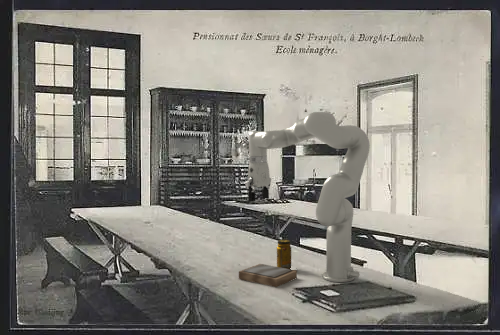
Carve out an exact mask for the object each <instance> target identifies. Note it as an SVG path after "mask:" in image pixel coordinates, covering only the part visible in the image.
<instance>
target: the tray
mask: <svg viewBox="0 0 500 335" xmlns="http://www.w3.org/2000/svg"><path fill="white" fill-rule="evenodd" d="M297 271H298V270H291V269H285V268H280V267H277V266H276V267H275V265H269V264H264V263H258V264H256V265H252V266H251V267H248V268H245V269H242V270H239V271H238V279H239V280H241V281H247V282H250V283H255V284H259V285H265V286H269V287H273V288H274V287H275V288H278V287H280V286H282V285H285V284H287V283H290V282H292V281H294V280H296V279H298V278H297V277H298V272H297ZM295 278H296V279H295ZM293 279H294V280H293ZM291 280H292V281H291ZM289 281H290V282H289Z"/></svg>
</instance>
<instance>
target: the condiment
mask: <svg viewBox="0 0 500 335" xmlns="http://www.w3.org/2000/svg"><path fill="white" fill-rule="evenodd" d="M274 266H275V265H274ZM291 266H292V247H291V240H290V239H279V240H277V247H276V266H275V267H280V268H285V269H290V268H291Z"/></svg>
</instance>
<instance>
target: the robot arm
mask: <svg viewBox="0 0 500 335" xmlns="http://www.w3.org/2000/svg"><path fill="white" fill-rule="evenodd" d="M313 138H315V139H317V140H319V141H321V142H322V143H324V144H325V145H328V146H329V147H330V148H333V149H336V150H341V149H347V151H346V153H345V155H344V157H343V159H342V161H341V165H340V168H339V171H338V172H337V173H334V174H331V175H330V176H328V177H327V178H326V180H324V182H323V184H322V188H321V191H320V194H319V199H318V201H317V204H316V209H315V216H316V219H317V222H318V223H319V224H320V225H322V226H324V227H327V228H326V239H325V240H326V244H325V246H326V252H325V253H326V258H325V259H326V262H325V263H326V265H325V266H326V267H325V268H326V270H325V272H322V278H323V279H324V280H326V281H329V282H333V283H346V282H352V281H354V280H355V279H356V278H357V279H358V278H360V271H357V270H354V267H353V266H352V226H353V219H354V207H353V204H352V203H351V202H350V201H349V200H348V199H347V198H349V197H352V196H354V195H355V194H357V191H358V190H359V185H360V183H361V180H362V176H363V173H364V169H365V166H366V162H367V159H368V156H369V153H370V148H371V147H370V146H371V145H370V139H369V137H368V135H367V134H366V132H365V131H364V130H363V129H362V128H361V127H359V126H357V125H351V124H350V125H348V124H347V125H339V124H337V119H336V117H335V116H334V115H333V114H332V113H331V112H328V111H314V112H310V113H309V114H307V115H306V117H304V118H302V119H298V120H296V121H295V122H294V123H293V125H292V126H291V127H287V128H284V129H279V130H277V129H276V130H265V131H264V130H258V131H257V130H256V131H250V132H249V134H248V157H249V158H248V160H249V161H248V162H249V165H248V170H247V171H248V175H247V180H245V182H244V184H245V189H246V190H247V193H248V202H256V188H262V189H261V197H262V199H269V198H270V187H271V182H272V177H270V168H269V163H268V152H267V151H268V150H273V149H282V148H286V147H289V146H293V145H296V144H299V143H302V142H304V141H307V140H311V139H313Z"/></svg>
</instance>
